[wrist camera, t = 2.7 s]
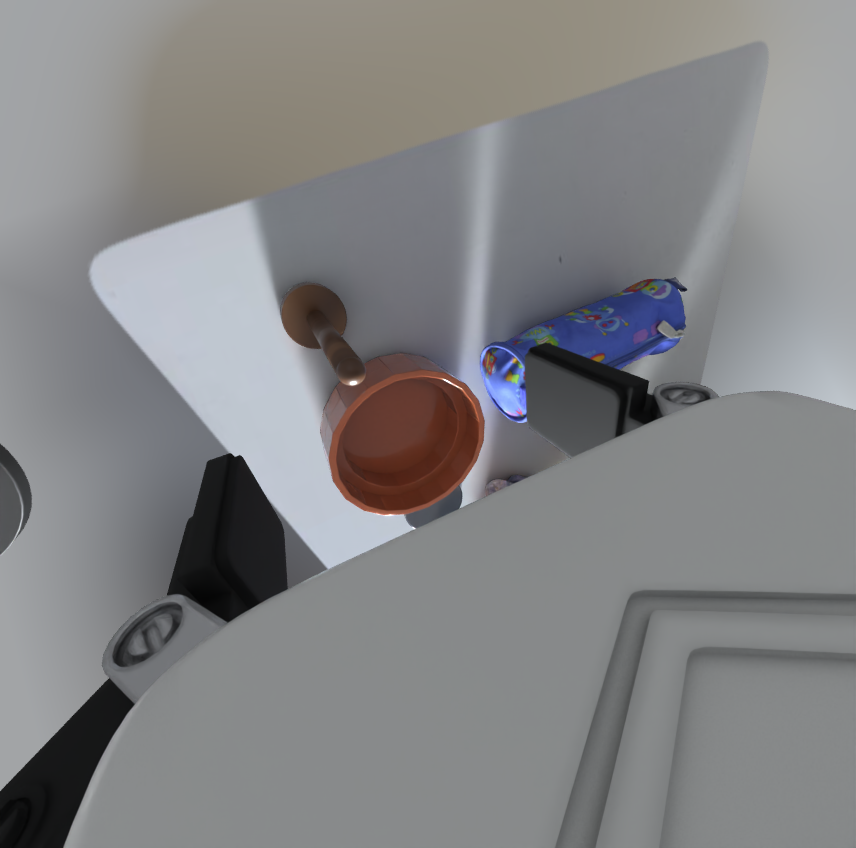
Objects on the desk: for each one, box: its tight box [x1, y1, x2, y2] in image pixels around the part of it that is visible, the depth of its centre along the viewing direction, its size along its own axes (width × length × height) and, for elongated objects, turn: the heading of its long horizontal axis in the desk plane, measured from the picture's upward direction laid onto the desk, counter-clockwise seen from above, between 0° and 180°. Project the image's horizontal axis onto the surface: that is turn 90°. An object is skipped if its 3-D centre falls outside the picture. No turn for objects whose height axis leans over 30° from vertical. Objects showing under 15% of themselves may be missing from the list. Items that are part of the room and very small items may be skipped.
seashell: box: [485, 475, 528, 496], centre depth 47 cm, size 5×5×10 cm
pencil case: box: [480, 277, 687, 423], centre depth 37 cm, size 22×9×10 cm, turn 105°
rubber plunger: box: [280, 282, 366, 386], centre depth 23 cm, size 5×5×16 cm
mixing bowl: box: [320, 353, 485, 515], centre depth 35 cm, size 15×15×6 cm
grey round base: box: [404, 485, 462, 529], centre depth 45 cm, size 8×8×1 cm
